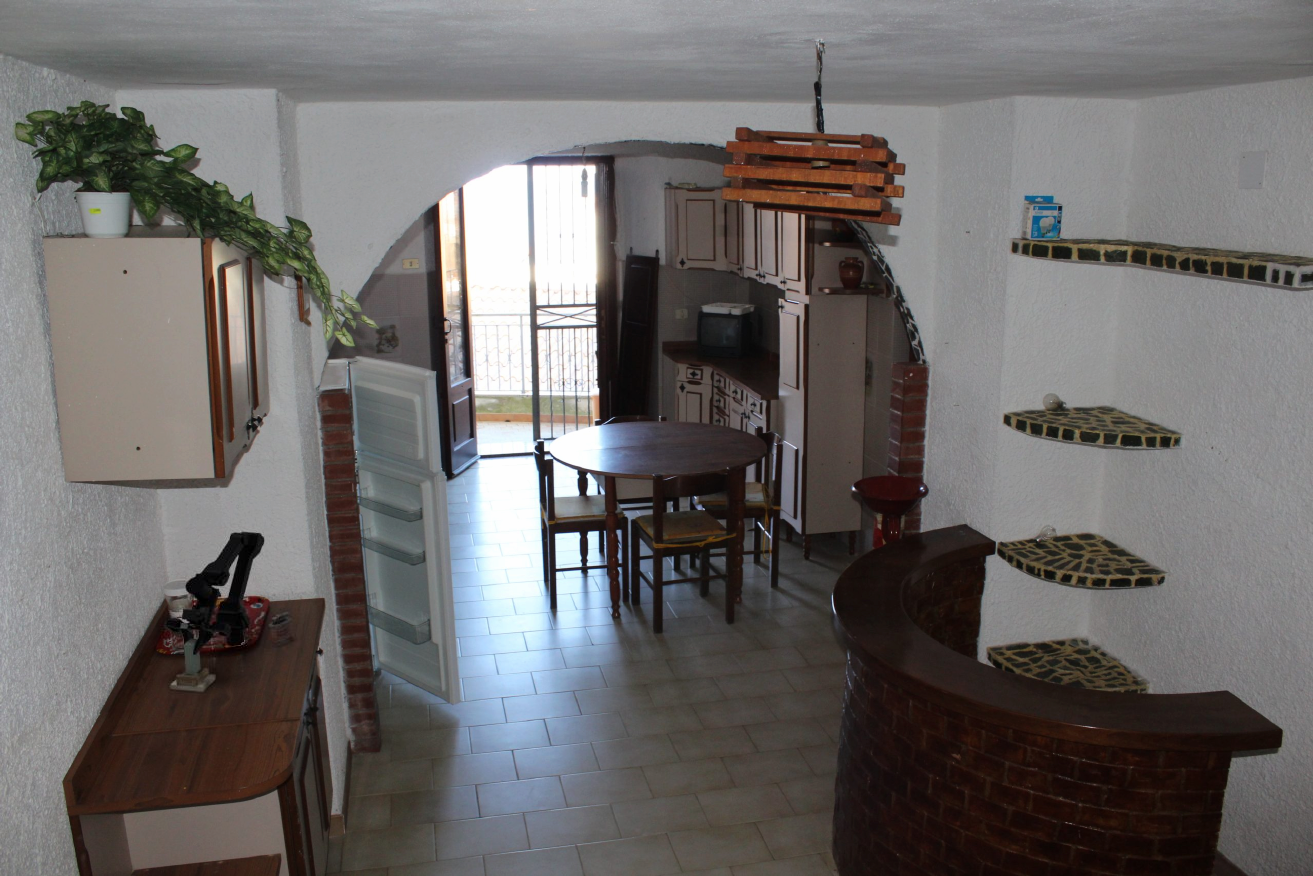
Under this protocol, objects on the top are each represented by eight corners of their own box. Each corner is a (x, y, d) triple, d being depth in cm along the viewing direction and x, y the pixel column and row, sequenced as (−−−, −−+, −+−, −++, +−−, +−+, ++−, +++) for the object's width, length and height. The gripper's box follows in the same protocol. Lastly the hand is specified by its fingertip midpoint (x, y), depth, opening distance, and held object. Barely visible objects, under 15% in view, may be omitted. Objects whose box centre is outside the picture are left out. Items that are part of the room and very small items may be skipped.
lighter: (274, 648, 335) (272, 620, 332) (267, 645, 337) (266, 617, 334) (294, 639, 341) (293, 612, 339) (288, 636, 343) (286, 609, 341)
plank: (193, 668, 311) (190, 638, 309) (200, 668, 311) (198, 639, 309) (186, 674, 308) (184, 644, 305) (194, 675, 307) (191, 645, 305)
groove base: (184, 676, 314) (183, 663, 313) (215, 679, 313) (214, 665, 312) (170, 689, 306) (169, 675, 305) (202, 691, 306) (201, 678, 305)
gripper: (165, 594, 308) (147, 643, 300) (224, 598, 307) (209, 648, 299) (180, 607, 317) (164, 655, 310) (238, 611, 316) (223, 660, 309)
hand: (189, 654), depth 306 cm, fingers closed on plank, 2 cm apart
